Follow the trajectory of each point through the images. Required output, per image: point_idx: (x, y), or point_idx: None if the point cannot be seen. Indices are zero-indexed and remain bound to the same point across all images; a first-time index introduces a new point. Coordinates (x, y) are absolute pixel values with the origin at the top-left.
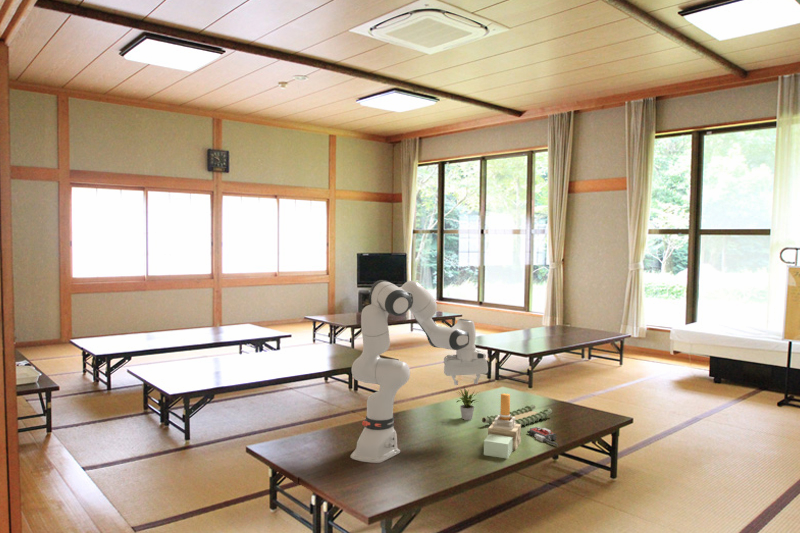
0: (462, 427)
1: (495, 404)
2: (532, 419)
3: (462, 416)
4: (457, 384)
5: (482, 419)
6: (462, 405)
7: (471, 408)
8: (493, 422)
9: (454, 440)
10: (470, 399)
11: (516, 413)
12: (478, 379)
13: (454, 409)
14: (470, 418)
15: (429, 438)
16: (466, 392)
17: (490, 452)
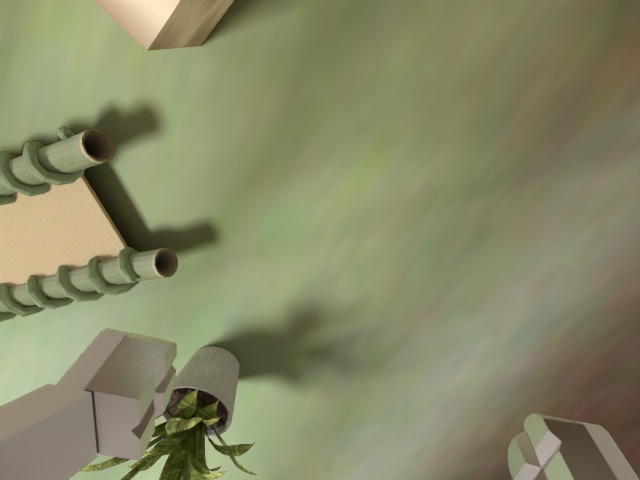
0: (295, 273)
1: None
2: None
3: (237, 374)
4: (555, 418)
5: (171, 272)
6: (210, 433)
7: (183, 385)
8: (173, 3)
9: (460, 97)
10: (173, 424)
11: None
12: (29, 396)
13: (219, 462)
14: (205, 350)
15: (575, 183)
16: None
17: None
